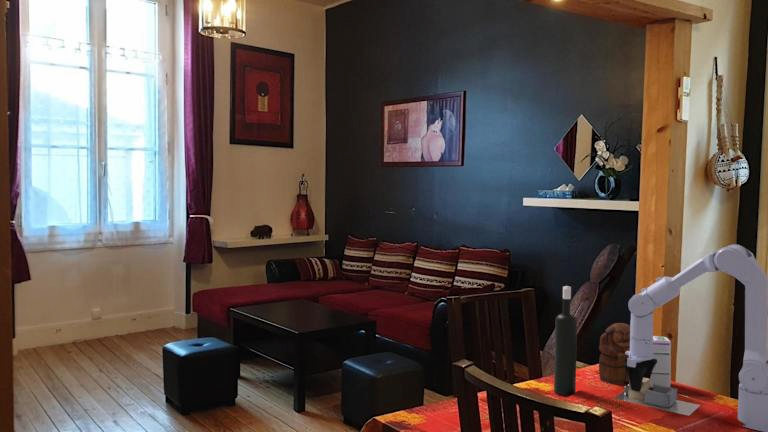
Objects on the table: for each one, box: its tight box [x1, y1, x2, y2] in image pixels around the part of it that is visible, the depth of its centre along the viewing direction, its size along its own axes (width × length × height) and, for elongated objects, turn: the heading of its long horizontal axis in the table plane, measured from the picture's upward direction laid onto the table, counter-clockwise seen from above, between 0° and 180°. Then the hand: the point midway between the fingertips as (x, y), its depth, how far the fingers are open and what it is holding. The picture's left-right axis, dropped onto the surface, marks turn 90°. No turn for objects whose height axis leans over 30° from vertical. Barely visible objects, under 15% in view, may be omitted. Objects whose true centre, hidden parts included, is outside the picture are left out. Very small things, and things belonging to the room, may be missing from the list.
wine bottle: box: [553, 285, 578, 397], centre depth 177 cm, size 6×6×30 cm
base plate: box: [613, 384, 701, 417], centre depth 168 cm, size 19×10×4 cm, turn 49°
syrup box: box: [650, 335, 672, 388], centre depth 182 cm, size 6×6×14 cm
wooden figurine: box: [598, 322, 630, 386], centre depth 185 cm, size 12×6×18 cm, turn 98°
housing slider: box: [644, 384, 679, 407], centre depth 168 cm, size 6×7×3 cm
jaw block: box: [629, 377, 651, 401], centre depth 171 cm, size 4×4×5 cm
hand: (640, 387), depth 171 cm, fingers open, 6 cm apart
